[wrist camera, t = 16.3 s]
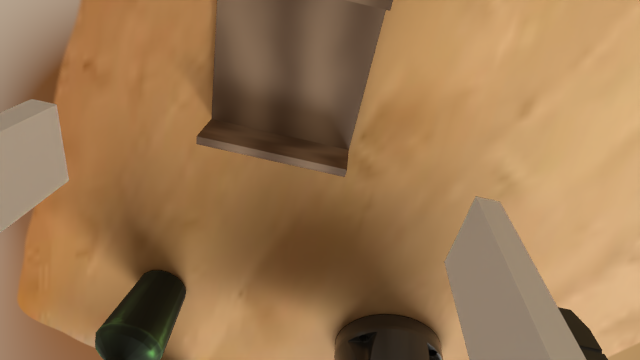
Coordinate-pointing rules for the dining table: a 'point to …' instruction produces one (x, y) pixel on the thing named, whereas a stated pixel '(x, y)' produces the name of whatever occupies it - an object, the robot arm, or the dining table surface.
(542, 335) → the robot arm
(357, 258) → the dining table surface
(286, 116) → the rack
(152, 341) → the potion bottle
